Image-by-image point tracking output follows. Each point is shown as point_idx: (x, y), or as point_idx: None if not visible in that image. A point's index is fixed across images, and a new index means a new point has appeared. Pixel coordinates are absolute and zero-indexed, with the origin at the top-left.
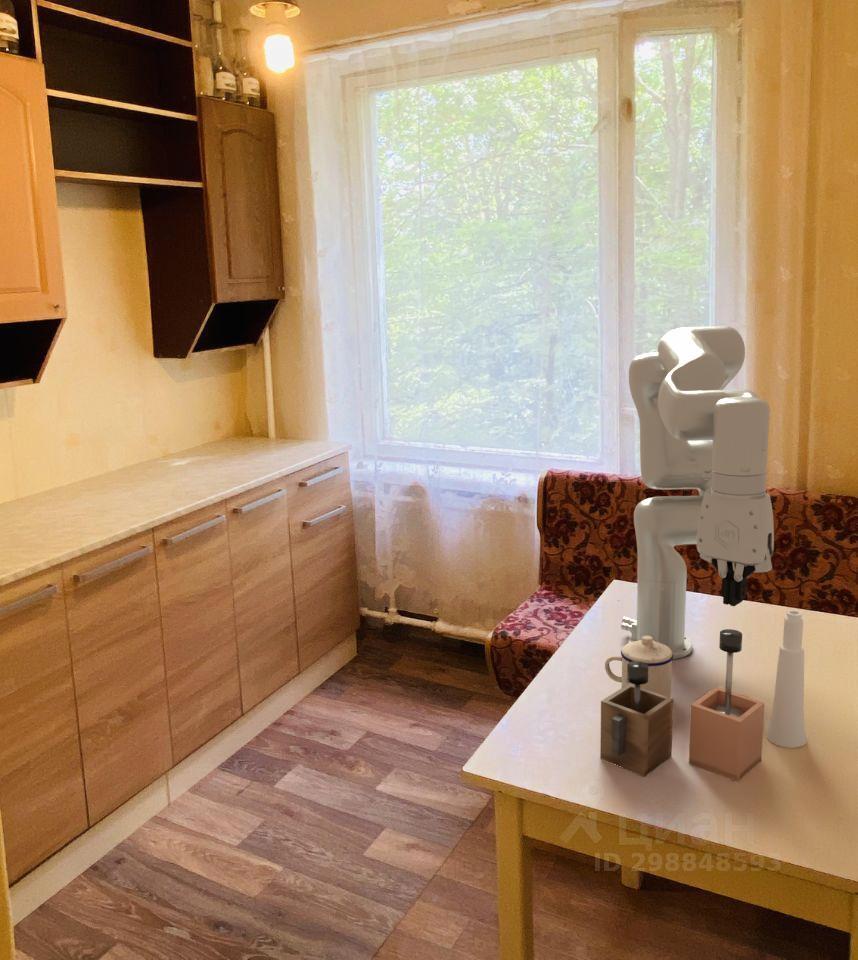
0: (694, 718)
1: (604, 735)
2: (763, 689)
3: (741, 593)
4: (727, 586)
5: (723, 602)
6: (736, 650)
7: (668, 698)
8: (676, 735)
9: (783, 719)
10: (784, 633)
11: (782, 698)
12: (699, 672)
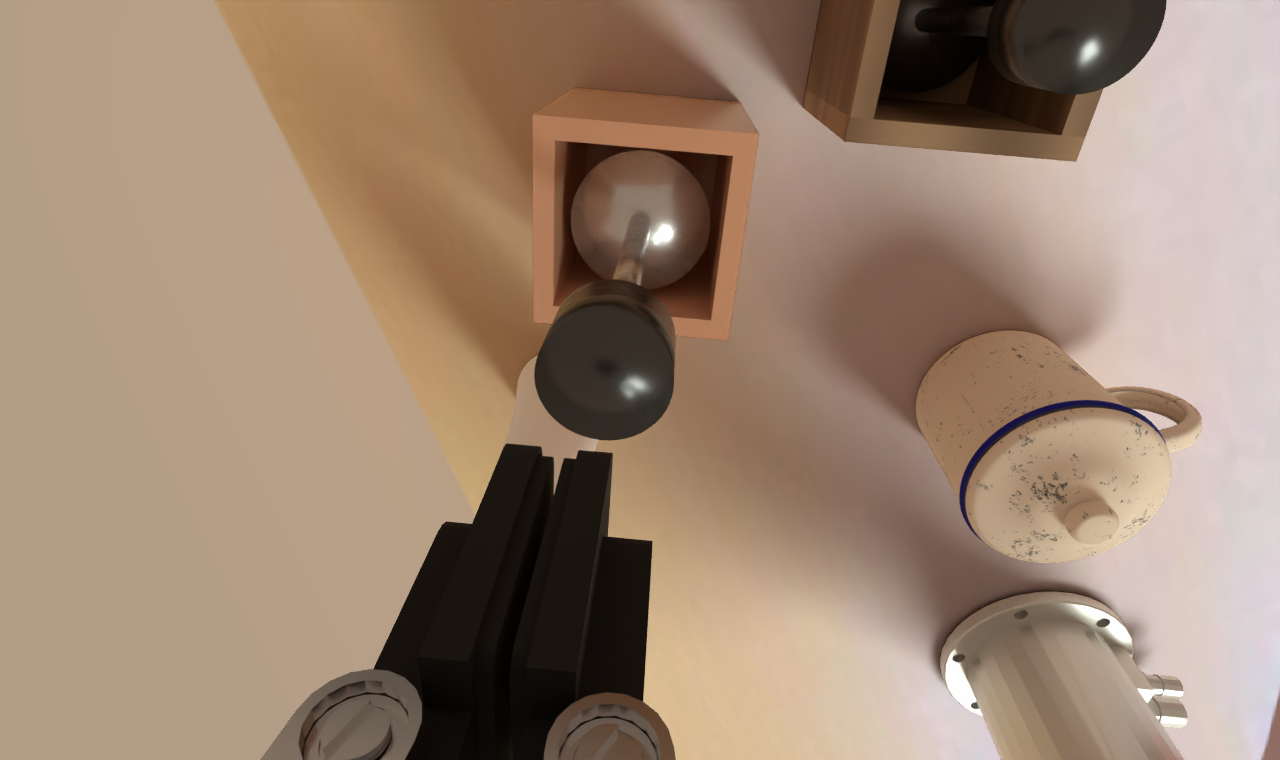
0: (735, 123)
1: None
2: (709, 579)
3: (425, 577)
4: (545, 594)
5: (607, 457)
6: (560, 308)
7: (865, 131)
8: (832, 239)
9: None
10: None
11: (544, 434)
12: (886, 584)
